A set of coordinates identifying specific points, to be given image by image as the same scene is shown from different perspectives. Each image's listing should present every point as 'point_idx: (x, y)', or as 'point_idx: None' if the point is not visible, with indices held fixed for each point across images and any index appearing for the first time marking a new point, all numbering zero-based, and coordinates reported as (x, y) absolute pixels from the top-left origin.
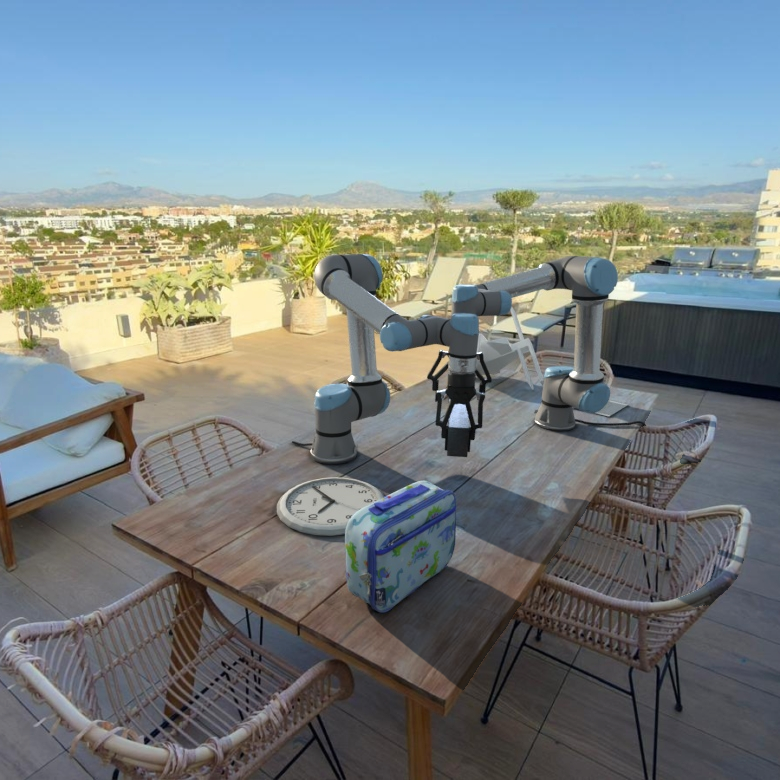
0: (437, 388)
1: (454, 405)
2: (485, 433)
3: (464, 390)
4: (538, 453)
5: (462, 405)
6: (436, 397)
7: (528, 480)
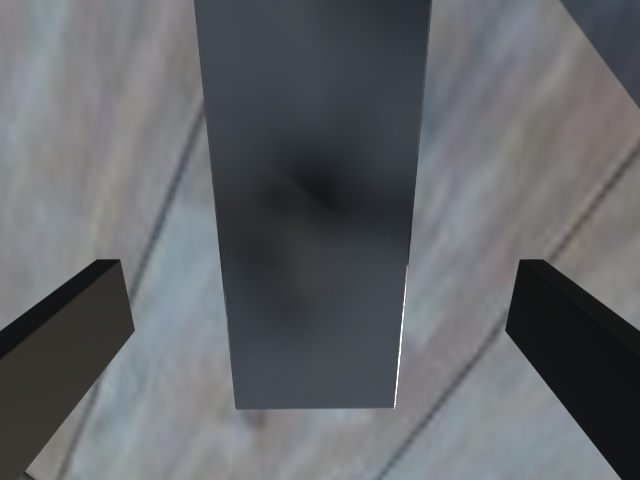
0: (630, 345)
1: (362, 89)
2: (210, 408)
3: None
4: (4, 277)
5: (266, 109)
6: (556, 280)
7: (3, 11)
